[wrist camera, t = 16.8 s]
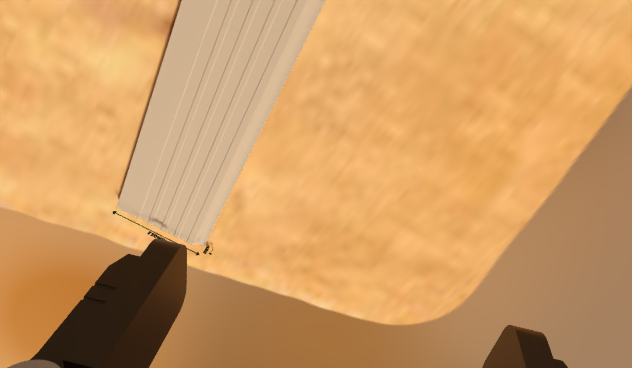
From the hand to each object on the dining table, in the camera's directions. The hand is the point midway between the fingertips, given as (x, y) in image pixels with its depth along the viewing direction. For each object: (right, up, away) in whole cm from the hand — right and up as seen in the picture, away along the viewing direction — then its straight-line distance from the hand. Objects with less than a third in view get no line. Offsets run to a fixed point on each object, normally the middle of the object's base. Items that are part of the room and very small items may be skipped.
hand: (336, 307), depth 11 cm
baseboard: (-10, +10, +33) cm, 36 cm away
